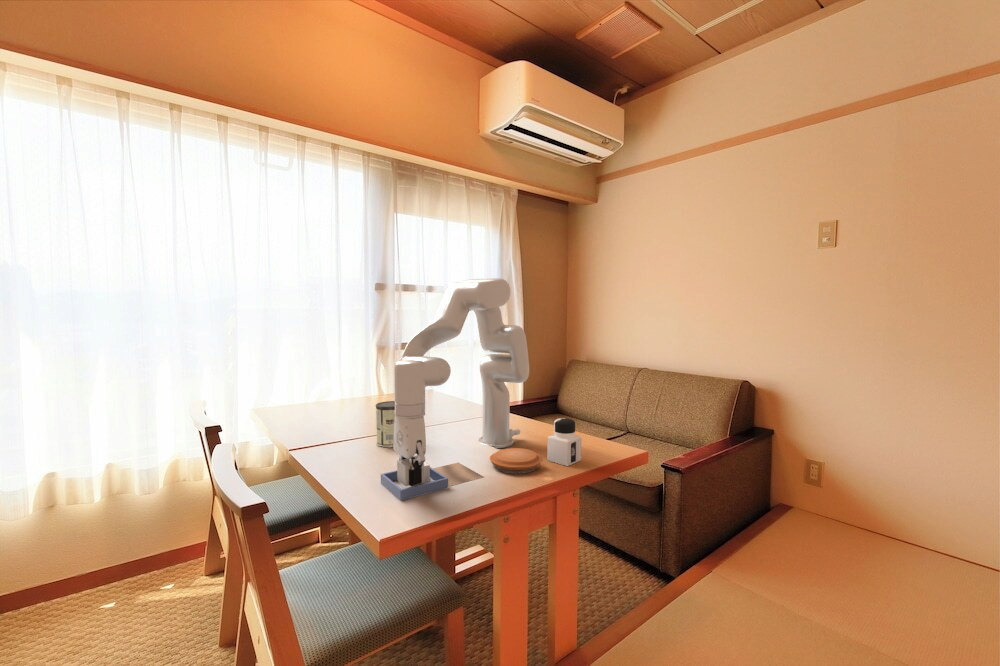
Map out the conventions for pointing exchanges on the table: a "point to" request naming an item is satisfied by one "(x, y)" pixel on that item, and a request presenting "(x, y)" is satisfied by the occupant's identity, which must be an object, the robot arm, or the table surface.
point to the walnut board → (457, 473)
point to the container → (564, 443)
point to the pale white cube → (405, 471)
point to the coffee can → (385, 423)
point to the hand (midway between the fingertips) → (410, 480)
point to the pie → (515, 460)
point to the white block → (426, 473)
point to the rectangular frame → (417, 490)
